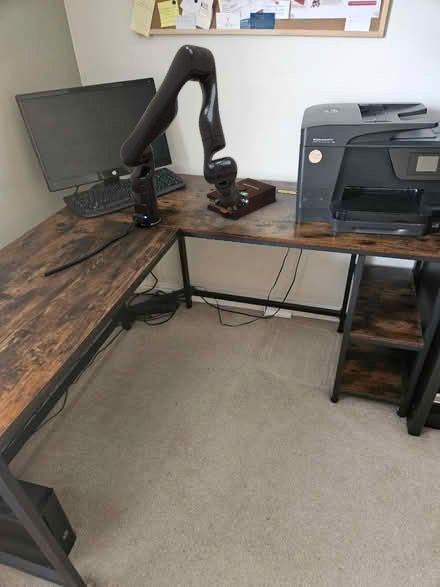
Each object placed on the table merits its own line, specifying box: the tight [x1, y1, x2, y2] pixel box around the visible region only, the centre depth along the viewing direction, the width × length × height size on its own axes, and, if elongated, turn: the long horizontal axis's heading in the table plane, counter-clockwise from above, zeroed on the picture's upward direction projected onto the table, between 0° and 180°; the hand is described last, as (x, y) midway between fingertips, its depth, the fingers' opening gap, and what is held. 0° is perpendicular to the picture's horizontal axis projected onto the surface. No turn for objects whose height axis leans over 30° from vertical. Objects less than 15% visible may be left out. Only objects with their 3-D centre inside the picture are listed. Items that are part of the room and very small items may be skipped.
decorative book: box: [206, 177, 277, 221], centre depth 173 cm, size 19×8×30 cm
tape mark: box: [277, 189, 297, 195], centre depth 184 cm, size 2×9×1 cm, turn 64°
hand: (234, 210), depth 156 cm, fingers closed
